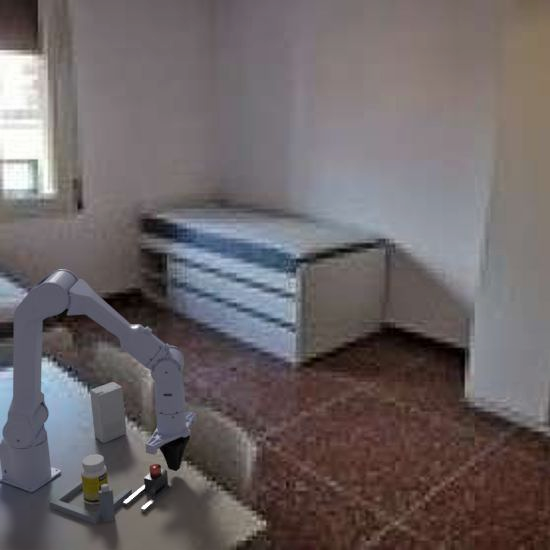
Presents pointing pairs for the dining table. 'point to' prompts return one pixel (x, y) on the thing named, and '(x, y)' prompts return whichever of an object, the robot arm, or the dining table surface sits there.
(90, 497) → the supplement bottle
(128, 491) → the press bed
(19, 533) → the dining table surface
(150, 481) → the grey slider block
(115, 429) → the skincare box
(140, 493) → the track
